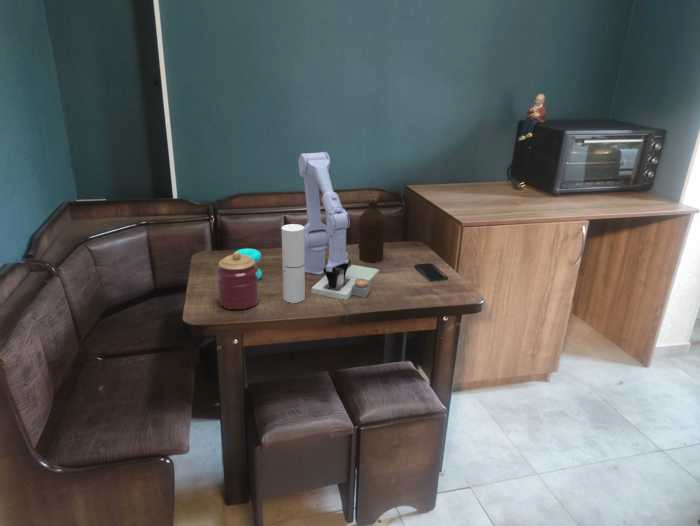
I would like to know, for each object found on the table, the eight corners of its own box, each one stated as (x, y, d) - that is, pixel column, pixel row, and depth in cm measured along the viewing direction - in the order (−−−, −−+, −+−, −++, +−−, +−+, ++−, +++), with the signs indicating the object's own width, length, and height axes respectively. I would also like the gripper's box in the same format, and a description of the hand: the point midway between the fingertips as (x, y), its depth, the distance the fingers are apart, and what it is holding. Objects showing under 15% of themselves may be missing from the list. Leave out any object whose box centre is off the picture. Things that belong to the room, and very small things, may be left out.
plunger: (352, 294, 181) (352, 282, 180) (357, 289, 185) (357, 277, 184) (364, 296, 180) (365, 284, 178) (369, 291, 184) (369, 279, 182)
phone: (431, 262, 208) (449, 277, 195) (431, 265, 209) (448, 280, 195) (412, 264, 206) (429, 280, 193) (412, 267, 206) (429, 282, 193)
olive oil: (389, 258, 214) (392, 198, 204) (373, 265, 206) (376, 203, 196) (368, 251, 220) (370, 193, 210) (352, 259, 212) (353, 198, 203)
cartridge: (327, 290, 184) (328, 271, 182) (333, 285, 189) (333, 266, 186) (340, 292, 183) (340, 273, 180) (345, 287, 187) (346, 268, 184)
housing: (311, 293, 182) (311, 285, 181) (328, 278, 194) (328, 270, 193) (360, 303, 176) (360, 294, 175) (374, 286, 188) (374, 279, 187)
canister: (261, 308, 170) (259, 257, 164) (220, 313, 167) (216, 261, 160) (256, 291, 182) (254, 243, 175) (218, 295, 178) (214, 246, 172)
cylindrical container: (296, 305, 173) (295, 232, 164) (279, 299, 177) (276, 228, 167) (309, 297, 179) (308, 226, 170) (292, 291, 182) (290, 222, 173)
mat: (340, 277, 195) (340, 275, 194) (352, 267, 204) (352, 264, 204) (369, 282, 191) (369, 280, 191) (379, 271, 200) (379, 269, 200)
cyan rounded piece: (236, 259, 183) (229, 249, 191) (238, 285, 186) (230, 275, 195) (264, 255, 187) (256, 245, 195) (265, 280, 191) (257, 270, 199)
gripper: (340, 255, 172) (339, 293, 177) (356, 242, 185) (355, 277, 190) (320, 252, 175) (320, 289, 180) (337, 239, 187) (337, 274, 192)
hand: (337, 283), depth 185 cm, fingers open, 7 cm apart
